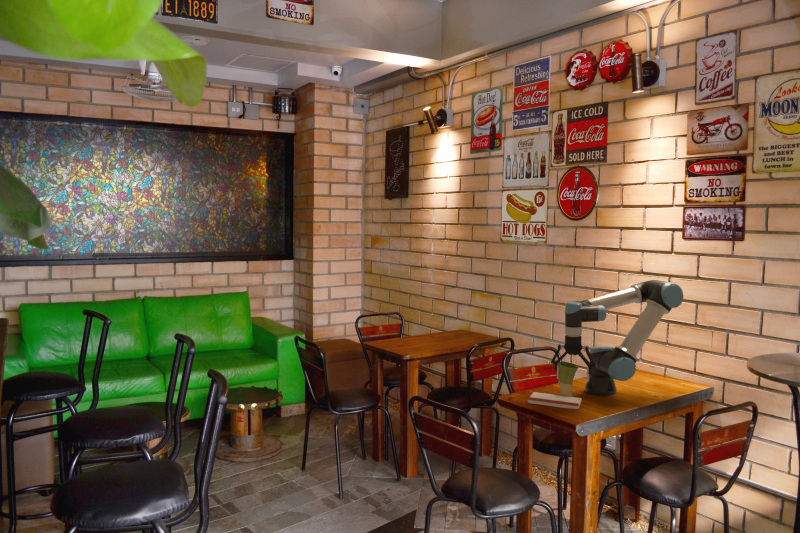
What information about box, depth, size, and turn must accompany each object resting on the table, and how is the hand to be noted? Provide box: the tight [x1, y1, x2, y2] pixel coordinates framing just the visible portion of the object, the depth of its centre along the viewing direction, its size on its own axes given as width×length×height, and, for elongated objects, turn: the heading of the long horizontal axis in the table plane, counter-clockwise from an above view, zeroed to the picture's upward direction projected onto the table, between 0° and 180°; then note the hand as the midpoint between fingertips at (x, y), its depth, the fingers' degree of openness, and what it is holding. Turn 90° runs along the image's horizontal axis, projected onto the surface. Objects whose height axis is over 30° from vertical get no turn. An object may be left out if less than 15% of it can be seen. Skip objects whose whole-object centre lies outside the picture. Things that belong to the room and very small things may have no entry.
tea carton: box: [559, 380, 574, 397], centre depth 292 cm, size 5×8×8 cm, turn 157°
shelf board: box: [527, 391, 583, 410], centre depth 283 cm, size 23×14×3 cm, turn 67°
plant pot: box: [558, 361, 580, 384], centre depth 281 cm, size 9×9×9 cm
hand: (572, 379), depth 280 cm, fingers open, 13 cm apart
